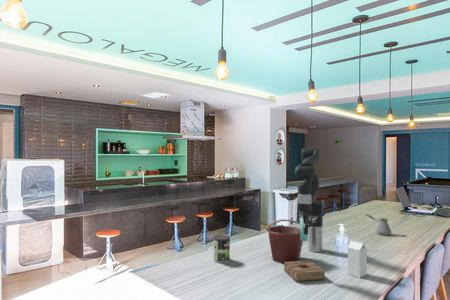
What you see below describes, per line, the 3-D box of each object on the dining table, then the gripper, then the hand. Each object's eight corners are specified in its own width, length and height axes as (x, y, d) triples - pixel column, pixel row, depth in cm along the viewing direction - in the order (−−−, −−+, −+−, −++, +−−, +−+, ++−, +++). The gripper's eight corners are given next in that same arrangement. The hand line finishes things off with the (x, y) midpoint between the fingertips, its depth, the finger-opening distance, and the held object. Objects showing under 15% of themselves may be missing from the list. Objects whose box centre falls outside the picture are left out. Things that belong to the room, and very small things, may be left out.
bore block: (284, 270, 175) (284, 262, 175) (310, 269, 178) (310, 260, 178) (296, 282, 160) (296, 272, 160) (324, 280, 163) (324, 270, 163)
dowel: (299, 239, 171) (299, 217, 171) (305, 238, 172) (305, 217, 172) (302, 241, 167) (302, 219, 167) (309, 240, 168) (309, 218, 168)
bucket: (306, 256, 201) (307, 218, 201) (303, 268, 180) (303, 225, 180) (269, 252, 209) (270, 215, 209) (262, 262, 188) (262, 221, 189)
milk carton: (359, 278, 166) (359, 242, 166) (347, 274, 172) (347, 239, 172) (366, 275, 170) (366, 240, 170) (354, 271, 176) (354, 237, 176)
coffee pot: (393, 234, 259) (393, 216, 259) (388, 237, 251) (388, 218, 251) (367, 229, 275) (368, 213, 275) (362, 231, 267) (362, 214, 267)
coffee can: (232, 259, 194) (233, 236, 194) (224, 263, 185) (224, 240, 186) (219, 256, 200) (219, 234, 200) (210, 260, 191) (210, 237, 191)
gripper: (292, 200, 176) (292, 230, 176) (303, 204, 162) (303, 237, 162) (304, 200, 177) (304, 230, 177) (316, 204, 163) (316, 236, 163)
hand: (304, 233), depth 169 cm, fingers closed on dowel, 4 cm apart
